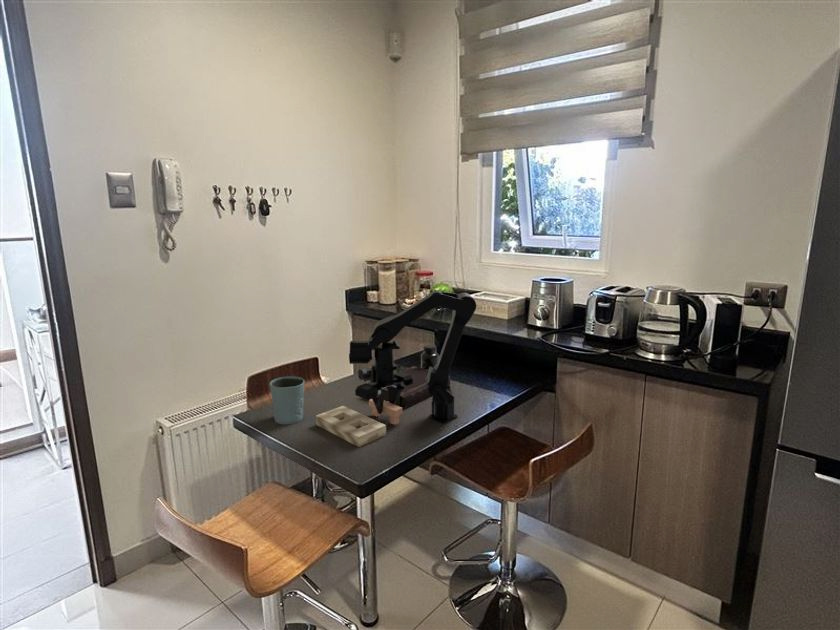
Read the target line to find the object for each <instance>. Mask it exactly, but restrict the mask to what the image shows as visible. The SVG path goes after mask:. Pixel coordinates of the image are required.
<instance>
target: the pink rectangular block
mask: <svg viewBox="0 0 840 630" xmlns="http://www.w3.org/2000/svg"><path fill="white" fill-rule="evenodd" d="M368 406H369V407H370V408H372V416H373V415H374V416H373V417H375V416H376V418H378V417H381V416H382V414H379V413H378V411H377V409H376V407H375V404H374V402H373V400H372V399H370V400H368ZM403 411H404V409H403V406H400V405H396V404H395V405H394V404H392V403H389V402H387V401H384V403H383V410H382V413H384V414H387V415H389V424H392V425H393V424H394V426H396V425H398V424H400V416H401V415H403V413H404V412H403ZM380 415H381V416H380ZM377 416H378V417H377Z"/></svg>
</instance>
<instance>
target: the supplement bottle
mask: <svg viewBox="0 0 840 630" xmlns="http://www.w3.org/2000/svg"><path fill="white" fill-rule="evenodd" d="M422 350H423V352H422V353H421V354H420V368H424V369H427V370H429V367H432V368H434V367H435V365H436V364H437V362H438V359H439V356H440V354H438V352H437V346H436V345H435V344H425V345H424V346H423V349H422Z"/></svg>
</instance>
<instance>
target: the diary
mask: <svg viewBox="0 0 840 630" xmlns="http://www.w3.org/2000/svg"><path fill="white" fill-rule="evenodd" d="M400 372H404V373H407V374H410V375H411V376H412V378H413V384H410V385H408V386H406V385H405V384H404V381H403V382H401V384H402V386H403V387H405V389H403V391H402V392H401V394H400V396H399V398H398V400H397V402H396V404H397V406H401V407H404V409H407V408H409V407H412V406H413V405H415V404H417V403H419V402H421V401H423V399H424V400H426V399H428V398H429V396H430V397H432V396H431V395H430V394H429V392H428V387H427V383H426V378H425V377H426V376H427V374H428V372H429V370H427V369H424V368H421V367H420V366H411V367H409V368H406V369H404V370H400ZM367 384H370V385H372V386H373V385H375V384H376V383H375V382H374V383H372V382H371V381H369V382H368V383H367ZM448 385H449V386H450V387H451V377H450V375H449V381H448ZM381 394H383V395H385V396H384V400H385V401H389V393H388V389H387V388H384V389H382V390H381ZM427 397H428V398H427ZM425 398H426V399H425ZM396 404H395V405H396ZM404 409H403V410H404Z"/></svg>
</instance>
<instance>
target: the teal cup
mask: <svg viewBox="0 0 840 630" xmlns="http://www.w3.org/2000/svg"><path fill="white" fill-rule="evenodd" d="M305 382H306V381H305V379H303V378H302V377H299V376H281V377H277V378H274V379H272V380H271V381H270V382H269V388H270V394H271V401H272V402H271V403H272V407H273V410H272V411H273V416H274V417H273V418H274V422H275V423H276V424H278V425H292V424H293V425H294V424H296V423H298V422H300V421H302V420H303V418H304V395H305Z"/></svg>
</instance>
